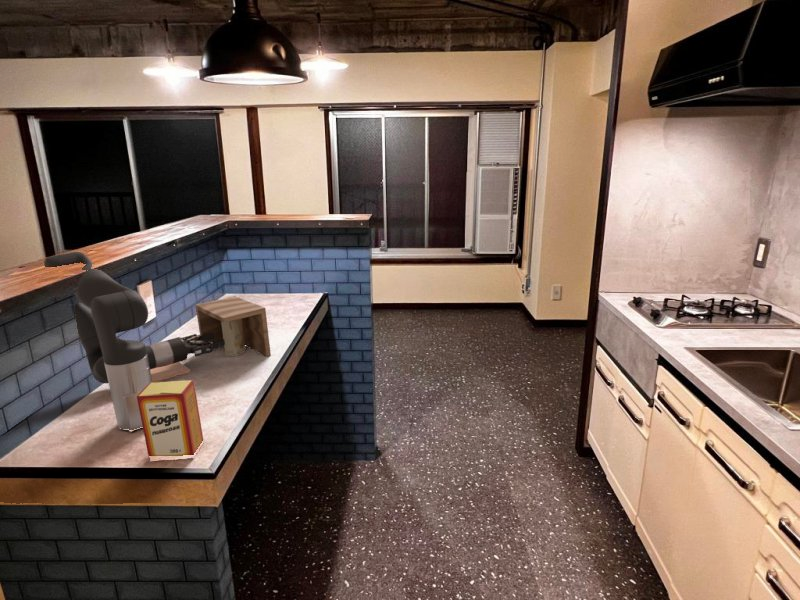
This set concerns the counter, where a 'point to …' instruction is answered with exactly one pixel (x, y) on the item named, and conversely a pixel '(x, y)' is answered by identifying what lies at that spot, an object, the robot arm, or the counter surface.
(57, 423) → the counter surface
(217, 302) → the walnut shelf
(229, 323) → the skincare box
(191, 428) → the baking soda box
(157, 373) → the terracotta tile
